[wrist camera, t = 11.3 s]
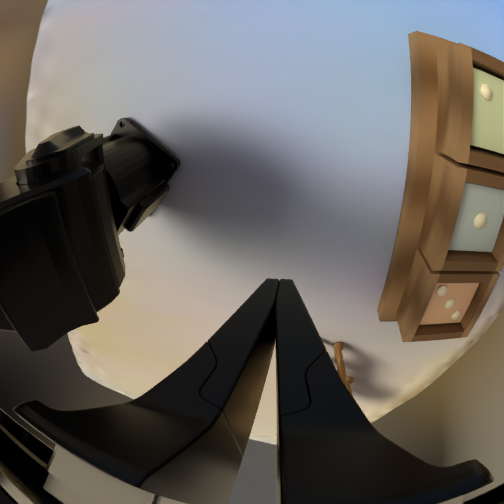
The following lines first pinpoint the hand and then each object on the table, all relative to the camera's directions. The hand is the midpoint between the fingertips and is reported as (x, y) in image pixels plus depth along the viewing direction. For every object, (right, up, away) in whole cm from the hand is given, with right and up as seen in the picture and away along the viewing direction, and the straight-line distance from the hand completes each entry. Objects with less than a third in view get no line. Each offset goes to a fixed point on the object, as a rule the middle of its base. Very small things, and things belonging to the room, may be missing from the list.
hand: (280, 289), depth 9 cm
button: (+15, +5, +6) cm, 17 cm away
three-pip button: (+15, -2, +10) cm, 19 cm away
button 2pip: (+14, +11, +2) cm, 18 cm away
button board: (+15, +6, +8) cm, 18 cm away
